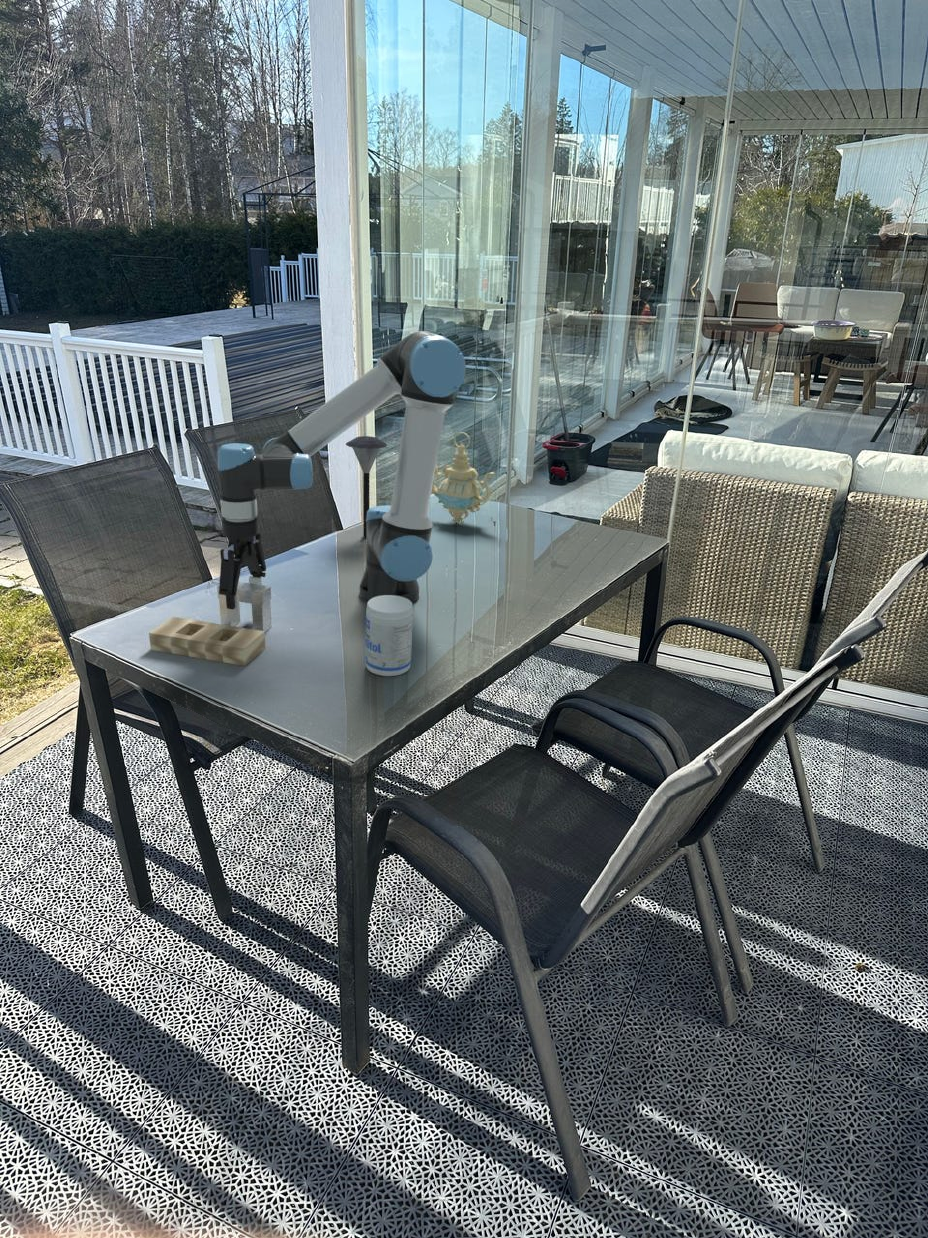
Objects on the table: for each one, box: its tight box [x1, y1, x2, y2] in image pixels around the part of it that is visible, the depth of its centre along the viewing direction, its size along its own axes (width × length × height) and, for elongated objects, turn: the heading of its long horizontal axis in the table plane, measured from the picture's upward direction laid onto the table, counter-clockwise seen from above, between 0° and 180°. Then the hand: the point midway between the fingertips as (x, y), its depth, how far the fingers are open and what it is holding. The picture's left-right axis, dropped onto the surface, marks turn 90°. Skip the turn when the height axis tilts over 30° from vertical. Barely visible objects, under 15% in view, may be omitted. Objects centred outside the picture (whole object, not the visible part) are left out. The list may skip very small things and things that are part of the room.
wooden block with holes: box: [148, 616, 266, 667], centre depth 175 cm, size 22×9×4 cm, turn 76°
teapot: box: [431, 431, 496, 525], centre depth 260 cm, size 24×12×30 cm, turn 60°
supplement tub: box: [364, 595, 414, 677], centre depth 169 cm, size 10×10×15 cm
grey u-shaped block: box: [216, 581, 273, 633], centre depth 185 cm, size 11×4×10 cm, turn 76°
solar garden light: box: [345, 435, 388, 538], centre depth 244 cm, size 12×12×30 cm
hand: (245, 612), depth 185 cm, fingers open, 10 cm apart
